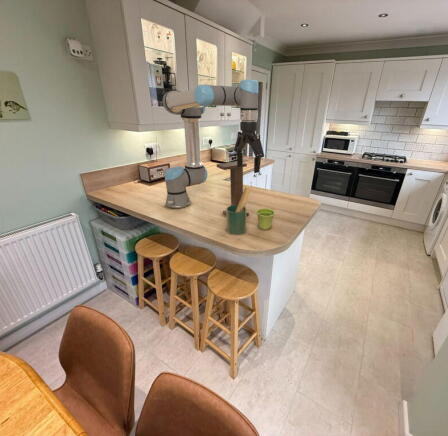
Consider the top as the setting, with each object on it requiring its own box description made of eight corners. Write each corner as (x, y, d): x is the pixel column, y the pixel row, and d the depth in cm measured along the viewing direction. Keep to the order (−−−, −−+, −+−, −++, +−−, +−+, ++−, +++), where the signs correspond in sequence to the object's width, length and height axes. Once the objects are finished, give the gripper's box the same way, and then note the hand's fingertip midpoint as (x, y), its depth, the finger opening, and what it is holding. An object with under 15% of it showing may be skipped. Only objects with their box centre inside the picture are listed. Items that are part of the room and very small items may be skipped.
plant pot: (272, 222, 127) (273, 208, 123) (275, 231, 119) (276, 215, 115) (255, 223, 127) (255, 208, 123) (256, 231, 118) (257, 216, 115)
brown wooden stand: (217, 214, 136) (215, 163, 123) (238, 209, 144) (237, 160, 131) (227, 221, 128) (225, 167, 115) (248, 215, 136) (249, 164, 123)
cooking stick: (245, 186, 115) (248, 188, 116) (228, 227, 118) (232, 228, 120) (248, 188, 113) (251, 189, 114) (231, 229, 116) (235, 229, 118)
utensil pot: (223, 228, 121) (222, 207, 116) (239, 223, 126) (238, 203, 121) (233, 236, 114) (233, 214, 109) (249, 231, 119) (249, 209, 114)
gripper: (226, 119, 108) (227, 165, 118) (259, 123, 90) (258, 176, 99) (239, 119, 112) (239, 163, 122) (274, 122, 94) (271, 174, 103)
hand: (247, 169), depth 111 cm, fingers open, 13 cm apart
